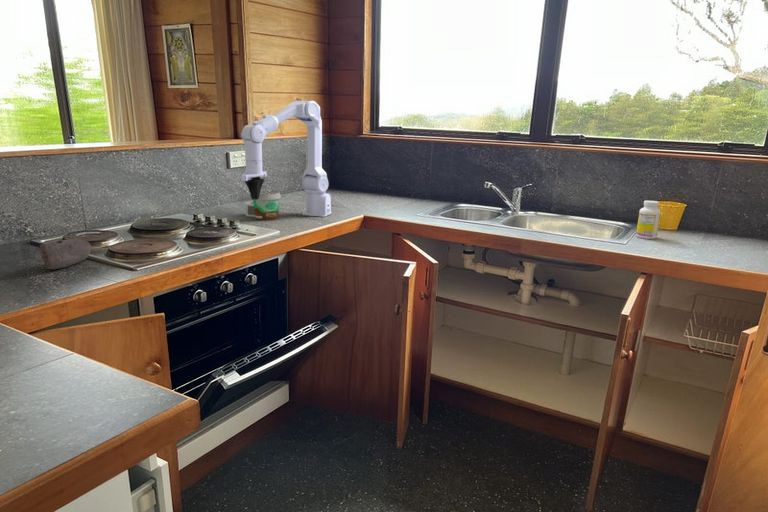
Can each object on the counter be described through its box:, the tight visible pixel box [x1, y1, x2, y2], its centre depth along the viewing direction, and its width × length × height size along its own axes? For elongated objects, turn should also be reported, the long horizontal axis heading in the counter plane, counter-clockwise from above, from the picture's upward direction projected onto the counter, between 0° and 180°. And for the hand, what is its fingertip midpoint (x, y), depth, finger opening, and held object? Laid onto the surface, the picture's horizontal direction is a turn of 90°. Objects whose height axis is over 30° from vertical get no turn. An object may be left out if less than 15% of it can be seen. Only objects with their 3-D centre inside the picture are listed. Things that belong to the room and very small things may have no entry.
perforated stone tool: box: [39, 238, 92, 271], centre depth 135 cm, size 15×5×7 cm, turn 163°
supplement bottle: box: [635, 200, 661, 240], centre depth 184 cm, size 7×7×13 cm
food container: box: [252, 190, 282, 222], centre depth 198 cm, size 12×6×10 cm, turn 143°
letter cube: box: [244, 201, 255, 218], centre depth 205 cm, size 5×5×5 cm
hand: (255, 199), depth 187 cm, fingers closed
